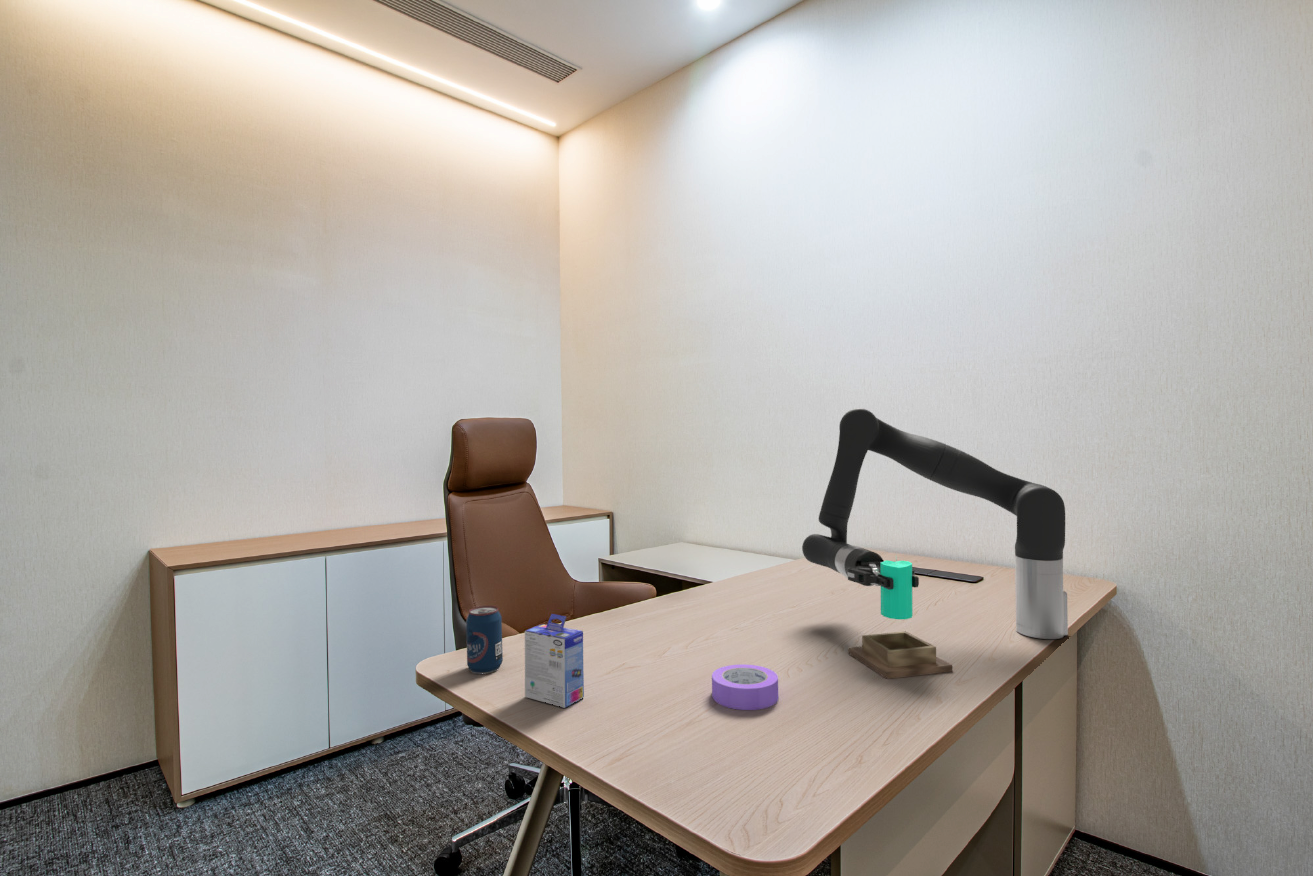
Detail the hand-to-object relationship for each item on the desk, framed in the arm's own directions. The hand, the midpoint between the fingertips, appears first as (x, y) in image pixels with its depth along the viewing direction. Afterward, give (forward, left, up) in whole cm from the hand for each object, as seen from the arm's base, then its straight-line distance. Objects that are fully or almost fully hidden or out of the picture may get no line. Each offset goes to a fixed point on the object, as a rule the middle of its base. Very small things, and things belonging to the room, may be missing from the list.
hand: (904, 583), depth 124 cm
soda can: (+81, -22, -17) cm, 85 cm away
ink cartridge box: (+68, -4, -17) cm, 70 cm away
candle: (0, -3, -7) cm, 8 cm away
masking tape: (+35, +4, -17) cm, 39 cm away
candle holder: (0, -3, -16) cm, 17 cm away
